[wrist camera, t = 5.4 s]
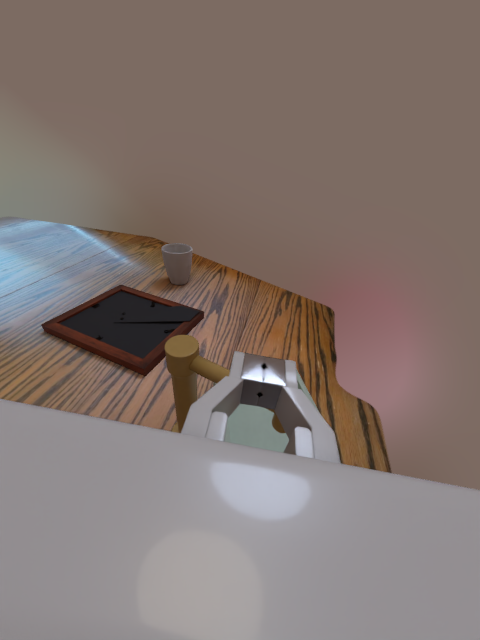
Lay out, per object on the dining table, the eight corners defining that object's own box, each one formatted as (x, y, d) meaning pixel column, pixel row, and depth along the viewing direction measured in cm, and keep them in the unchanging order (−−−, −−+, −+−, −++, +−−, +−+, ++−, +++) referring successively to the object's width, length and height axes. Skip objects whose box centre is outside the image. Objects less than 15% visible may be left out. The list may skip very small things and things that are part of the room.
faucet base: (213, 433, 32) (216, 366, 24) (187, 461, 29) (180, 395, 21) (190, 413, 35) (185, 344, 26) (163, 437, 31) (149, 368, 23)
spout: (161, 376, 24) (156, 348, 21) (181, 357, 26) (179, 330, 24) (285, 444, 19) (296, 418, 17) (295, 414, 21) (307, 387, 19)
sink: (288, 382, 41) (294, 364, 38) (326, 463, 30) (338, 447, 28) (213, 391, 38) (213, 373, 35) (226, 485, 27) (228, 469, 25)
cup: (196, 277, 71) (195, 245, 66) (187, 289, 65) (186, 255, 59) (171, 273, 72) (168, 241, 66) (160, 285, 65) (156, 250, 60)
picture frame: (203, 317, 55) (122, 290, 61) (203, 310, 53) (120, 283, 60) (145, 375, 39) (44, 331, 46) (143, 368, 38) (40, 323, 45)
